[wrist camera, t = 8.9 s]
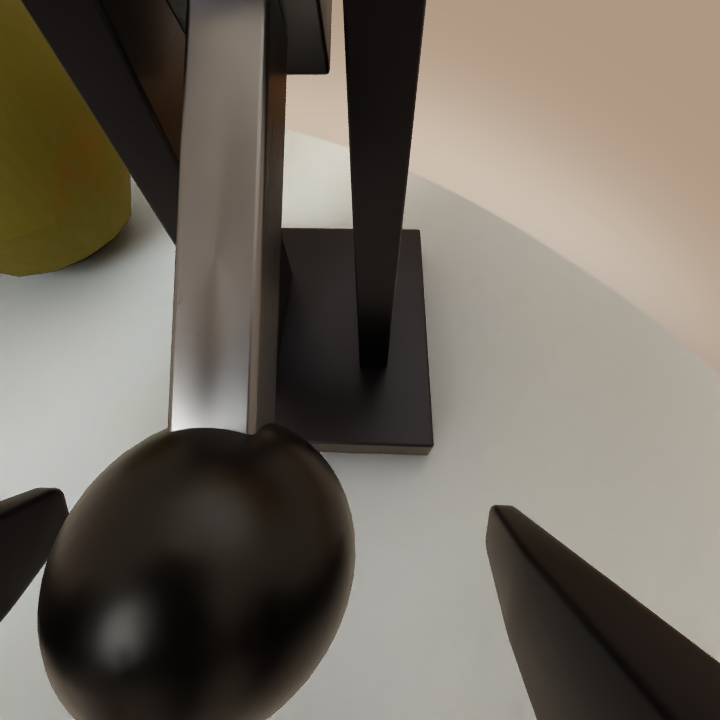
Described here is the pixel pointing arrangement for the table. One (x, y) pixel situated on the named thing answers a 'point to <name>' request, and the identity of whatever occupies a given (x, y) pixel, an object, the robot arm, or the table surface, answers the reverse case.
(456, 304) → the table surface
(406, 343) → the bracket
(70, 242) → the apple
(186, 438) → the lever
